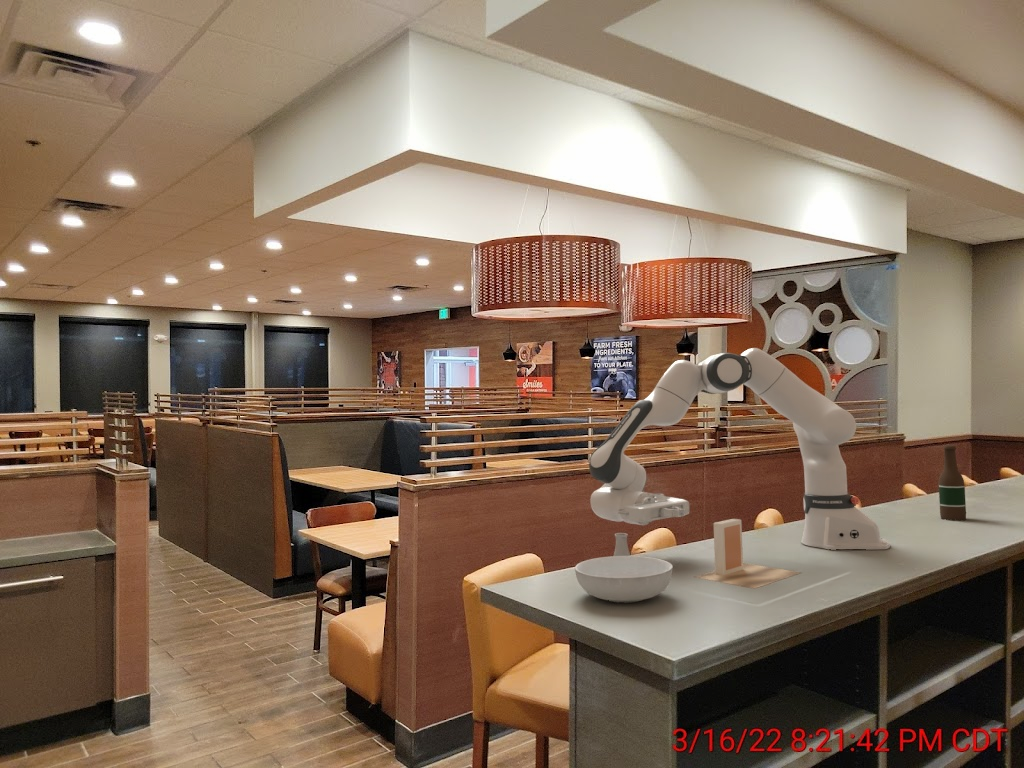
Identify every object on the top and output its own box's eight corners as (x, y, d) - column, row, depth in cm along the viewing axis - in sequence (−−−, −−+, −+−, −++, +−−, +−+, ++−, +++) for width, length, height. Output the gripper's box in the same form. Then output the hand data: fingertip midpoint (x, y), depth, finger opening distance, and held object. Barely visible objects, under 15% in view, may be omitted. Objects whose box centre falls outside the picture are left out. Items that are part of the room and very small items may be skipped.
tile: (715, 573, 176) (713, 522, 176) (734, 567, 181) (732, 518, 181) (724, 575, 174) (722, 524, 174) (743, 569, 179) (741, 519, 179)
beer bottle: (944, 516, 248) (941, 444, 248) (970, 518, 242) (967, 445, 242) (935, 519, 243) (932, 446, 243) (961, 521, 237) (958, 446, 237)
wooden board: (693, 578, 173) (693, 576, 173) (742, 564, 186) (741, 562, 186) (754, 590, 161) (754, 588, 161) (801, 574, 174) (801, 572, 174)
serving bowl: (590, 583, 173) (589, 553, 173) (680, 588, 165) (679, 557, 165) (563, 606, 153) (562, 573, 154) (664, 614, 146) (663, 579, 146)
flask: (637, 579, 175) (635, 536, 175) (606, 578, 177) (605, 536, 177) (638, 572, 182) (636, 531, 182) (608, 571, 184) (607, 531, 184)
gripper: (613, 500, 192) (655, 505, 181) (663, 492, 205) (705, 497, 195) (614, 524, 192) (655, 530, 181) (664, 515, 205) (705, 521, 194)
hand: (681, 513), depth 188 cm, fingers closed
